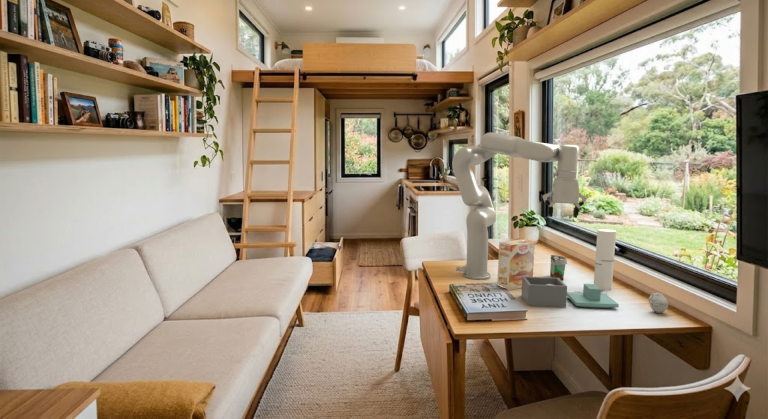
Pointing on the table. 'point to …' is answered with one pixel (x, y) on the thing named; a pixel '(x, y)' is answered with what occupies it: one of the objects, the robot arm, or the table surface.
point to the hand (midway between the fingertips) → (562, 216)
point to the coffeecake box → (515, 262)
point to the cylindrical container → (604, 259)
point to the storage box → (544, 291)
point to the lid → (591, 298)
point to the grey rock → (658, 302)
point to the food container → (557, 267)
